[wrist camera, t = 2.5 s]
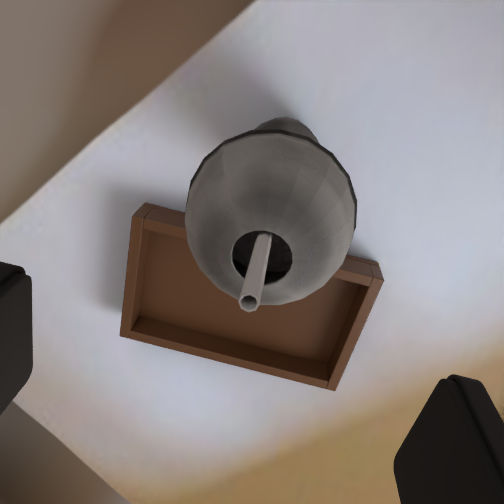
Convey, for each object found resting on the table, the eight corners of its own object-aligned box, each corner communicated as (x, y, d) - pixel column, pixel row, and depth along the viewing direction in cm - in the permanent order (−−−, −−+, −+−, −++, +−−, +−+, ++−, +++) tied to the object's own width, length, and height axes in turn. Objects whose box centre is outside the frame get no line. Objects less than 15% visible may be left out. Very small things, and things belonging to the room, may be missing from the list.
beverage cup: (225, 197, 30) (110, 424, 12) (232, 88, 27) (89, 185, 9) (328, 210, 30) (361, 464, 12) (348, 101, 26) (436, 228, 9)
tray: (378, 262, 31) (384, 280, 29) (333, 369, 36) (335, 391, 34) (144, 202, 31) (132, 215, 29) (131, 317, 36) (119, 336, 34)
